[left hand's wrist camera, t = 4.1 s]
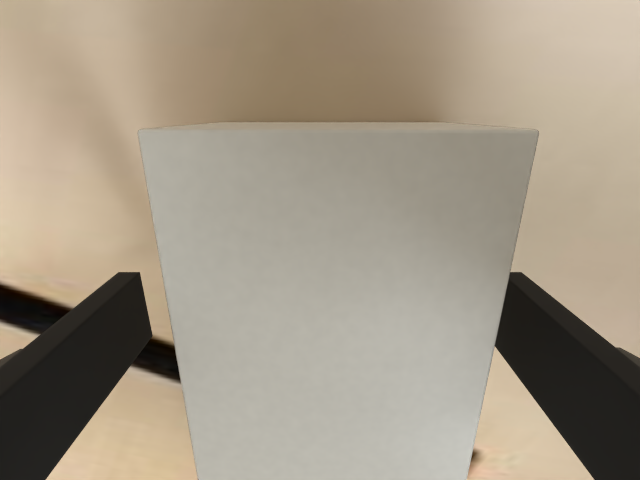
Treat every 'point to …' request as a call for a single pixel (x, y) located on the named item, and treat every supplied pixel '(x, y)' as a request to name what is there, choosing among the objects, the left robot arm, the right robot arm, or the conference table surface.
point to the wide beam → (335, 289)
